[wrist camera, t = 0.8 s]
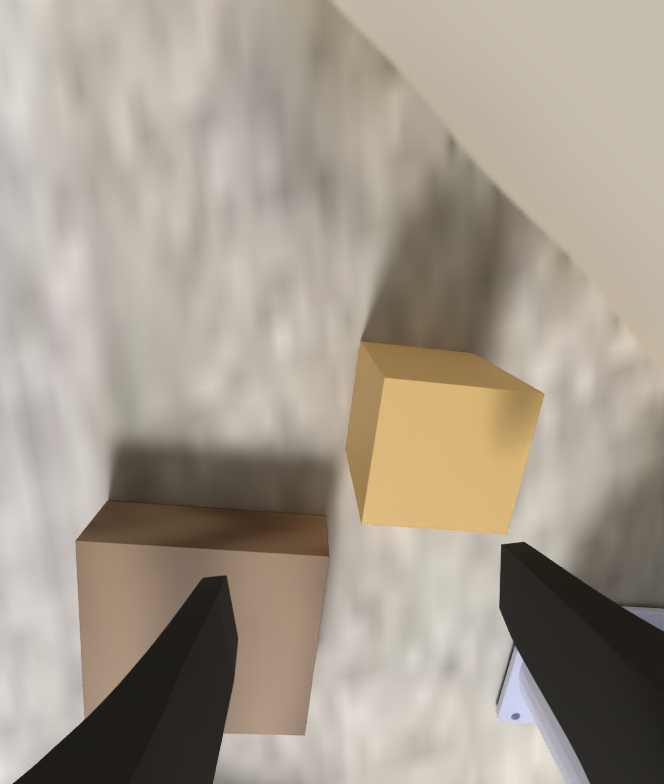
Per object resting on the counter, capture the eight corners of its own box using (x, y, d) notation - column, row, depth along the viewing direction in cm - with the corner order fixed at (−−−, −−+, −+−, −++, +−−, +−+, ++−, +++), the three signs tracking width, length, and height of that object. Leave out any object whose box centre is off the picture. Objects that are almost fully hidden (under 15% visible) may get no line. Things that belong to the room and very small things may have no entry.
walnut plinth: (325, 516, 21) (329, 556, 18) (304, 678, 24) (304, 735, 21) (107, 500, 20) (75, 540, 17) (112, 671, 23) (85, 729, 20)
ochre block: (473, 353, 19) (544, 393, 14) (451, 457, 21) (507, 534, 15) (360, 340, 19) (384, 377, 13) (345, 448, 20) (361, 524, 15)
